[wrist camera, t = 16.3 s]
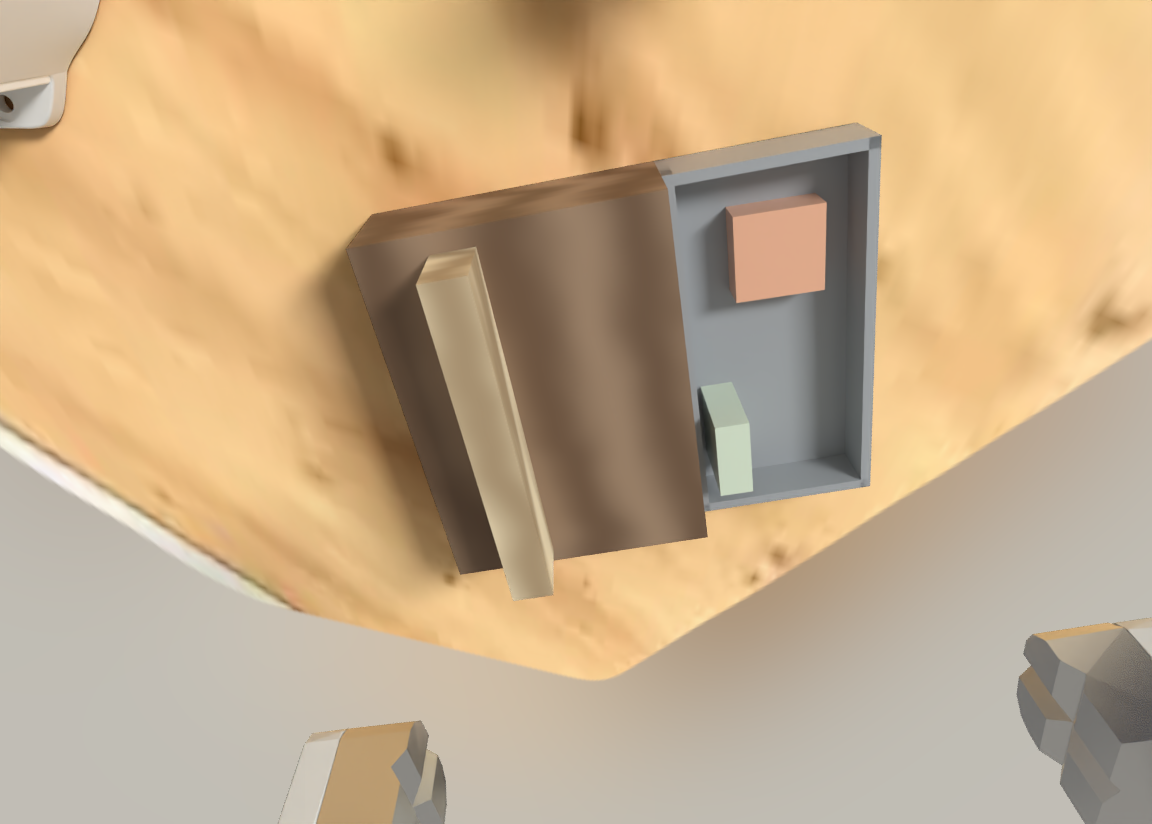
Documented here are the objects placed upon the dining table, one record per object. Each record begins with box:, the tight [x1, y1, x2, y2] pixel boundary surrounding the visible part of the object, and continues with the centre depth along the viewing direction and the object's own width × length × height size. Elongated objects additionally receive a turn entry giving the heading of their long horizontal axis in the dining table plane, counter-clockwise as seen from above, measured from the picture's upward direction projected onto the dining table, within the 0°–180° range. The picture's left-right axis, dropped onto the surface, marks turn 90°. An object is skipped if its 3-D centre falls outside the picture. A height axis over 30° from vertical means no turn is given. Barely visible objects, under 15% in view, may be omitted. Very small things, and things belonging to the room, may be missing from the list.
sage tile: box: [701, 382, 753, 496], centre depth 46 cm, size 5×5×2 cm
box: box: [654, 123, 882, 511], centre depth 44 cm, size 11×22×4 cm, turn 10°
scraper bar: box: [416, 247, 554, 601], centre depth 40 cm, size 2×20×4 cm, turn 10°
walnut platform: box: [346, 161, 708, 575], centre depth 44 cm, size 16×22×6 cm
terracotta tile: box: [725, 193, 827, 303], centre depth 42 cm, size 5×5×2 cm
